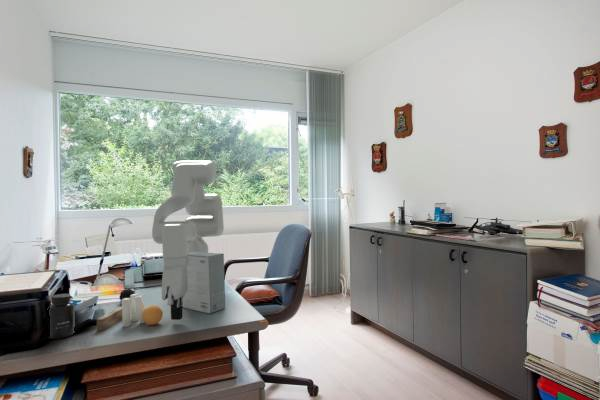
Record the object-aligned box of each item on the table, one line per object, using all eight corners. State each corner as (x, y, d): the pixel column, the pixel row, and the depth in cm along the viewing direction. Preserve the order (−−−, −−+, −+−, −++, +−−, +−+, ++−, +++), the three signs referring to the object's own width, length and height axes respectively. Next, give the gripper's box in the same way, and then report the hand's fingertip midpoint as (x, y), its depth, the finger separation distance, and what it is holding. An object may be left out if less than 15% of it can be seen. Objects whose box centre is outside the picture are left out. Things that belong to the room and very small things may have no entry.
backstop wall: (122, 315, 129) (122, 305, 129) (128, 315, 128) (127, 305, 128) (96, 330, 115) (96, 319, 115) (103, 330, 114) (102, 319, 114)
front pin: (142, 321, 122) (136, 296, 122) (149, 320, 122) (142, 294, 122) (138, 324, 120) (132, 298, 120) (145, 322, 119) (139, 296, 119)
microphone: (121, 300, 159) (123, 307, 141) (116, 288, 159) (117, 293, 141) (134, 295, 162) (137, 300, 144) (129, 282, 161) (132, 286, 144)
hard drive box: (226, 308, 134) (224, 253, 134) (210, 314, 128) (208, 256, 127) (197, 302, 143) (196, 250, 143) (181, 307, 137) (179, 253, 136)
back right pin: (133, 319, 125) (132, 293, 125) (140, 319, 125) (139, 293, 124) (129, 321, 122) (128, 295, 122) (136, 321, 122) (135, 295, 122)
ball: (163, 301, 122) (165, 319, 122) (144, 304, 122) (146, 322, 122) (158, 307, 116) (161, 325, 116) (138, 310, 116) (141, 329, 116)
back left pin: (125, 324, 120) (124, 298, 120) (132, 324, 120) (131, 298, 119) (120, 326, 117) (120, 300, 117) (128, 326, 117) (127, 300, 117)
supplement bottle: (61, 340, 107) (60, 299, 107) (42, 339, 109) (40, 298, 109) (80, 331, 114) (79, 292, 114) (61, 330, 115) (60, 292, 115)
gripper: (173, 258, 127) (175, 311, 127) (152, 266, 112) (154, 327, 112) (195, 257, 126) (196, 311, 127) (176, 266, 112) (178, 327, 112)
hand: (176, 318), depth 120 cm, fingers closed
